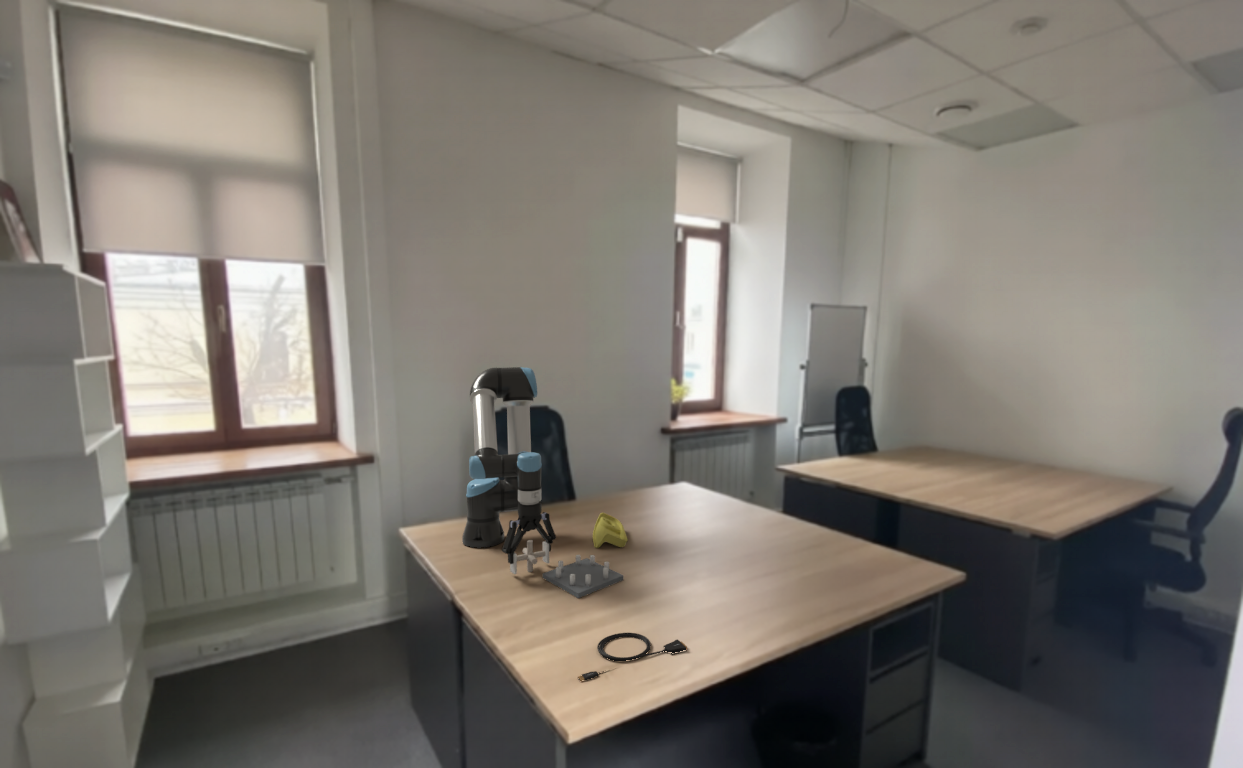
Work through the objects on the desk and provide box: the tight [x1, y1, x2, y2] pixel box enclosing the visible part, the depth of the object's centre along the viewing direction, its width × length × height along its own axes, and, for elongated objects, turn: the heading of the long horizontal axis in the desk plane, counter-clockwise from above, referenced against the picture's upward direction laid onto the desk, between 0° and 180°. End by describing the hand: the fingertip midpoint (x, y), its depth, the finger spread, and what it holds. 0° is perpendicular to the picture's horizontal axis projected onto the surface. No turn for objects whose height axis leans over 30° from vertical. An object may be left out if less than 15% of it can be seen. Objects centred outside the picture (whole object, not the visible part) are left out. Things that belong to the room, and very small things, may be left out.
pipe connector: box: [517, 539, 546, 573], centre depth 175 cm, size 10×10×10 cm
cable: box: [577, 632, 688, 682], centre depth 131 cm, size 14×28×2 cm, turn 116°
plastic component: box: [592, 512, 629, 549], centre depth 204 cm, size 20×7×10 cm
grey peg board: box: [542, 554, 624, 599], centre depth 169 cm, size 18×18×4 cm
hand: (530, 567), depth 175 cm, fingers open, 12 cm apart
